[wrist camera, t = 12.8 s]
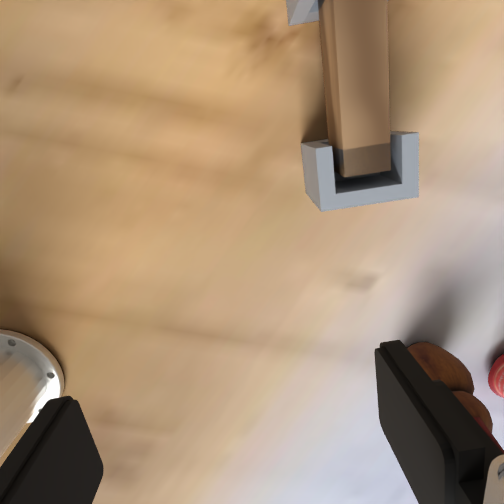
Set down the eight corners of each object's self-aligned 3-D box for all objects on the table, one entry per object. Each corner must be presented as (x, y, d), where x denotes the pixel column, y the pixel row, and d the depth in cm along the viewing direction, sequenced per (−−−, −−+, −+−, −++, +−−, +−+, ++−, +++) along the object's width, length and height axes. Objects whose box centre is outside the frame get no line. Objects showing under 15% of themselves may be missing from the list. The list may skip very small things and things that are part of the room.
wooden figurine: (408, 326, 40) (494, 435, 26) (453, 341, 41) (560, 456, 27) (380, 373, 42) (445, 497, 28) (423, 387, 43) (508, 515, 29)
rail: (330, 169, 31) (344, 177, 27) (316, -21, 27) (330, -51, 22) (369, 163, 31) (390, 170, 27) (361, -29, 27) (385, -62, 22)
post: (305, 192, 35) (321, 211, 28) (300, 143, 34) (315, 148, 26) (382, 181, 35) (418, 197, 27) (380, 130, 33) (418, 132, 26)
